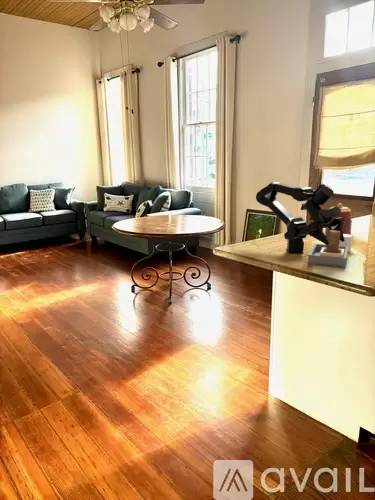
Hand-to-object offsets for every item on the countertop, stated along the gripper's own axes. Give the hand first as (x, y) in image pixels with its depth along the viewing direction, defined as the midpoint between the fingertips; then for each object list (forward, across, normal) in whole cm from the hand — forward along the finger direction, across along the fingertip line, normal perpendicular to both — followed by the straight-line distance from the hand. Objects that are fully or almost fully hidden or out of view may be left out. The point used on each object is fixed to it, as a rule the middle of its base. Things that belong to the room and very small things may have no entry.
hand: (335, 242), depth 148 cm
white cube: (-2, +21, +14) cm, 25 cm away
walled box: (+3, +2, +10) cm, 10 cm away
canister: (-16, +41, +28) cm, 53 cm away
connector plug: (+4, 0, +6) cm, 8 cm away
